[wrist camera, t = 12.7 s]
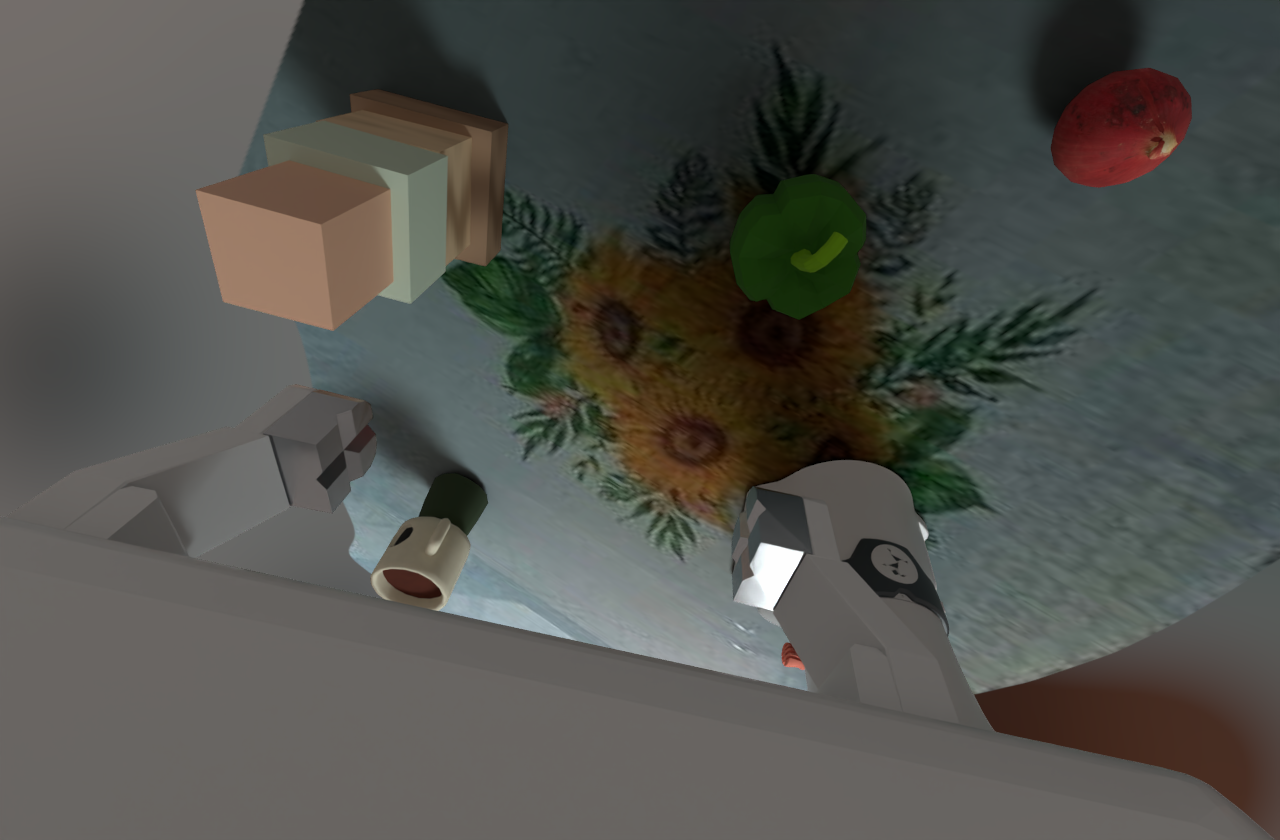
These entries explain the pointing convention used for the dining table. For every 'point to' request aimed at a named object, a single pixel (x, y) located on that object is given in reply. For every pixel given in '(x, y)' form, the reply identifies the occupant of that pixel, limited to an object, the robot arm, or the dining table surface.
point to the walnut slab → (484, 161)
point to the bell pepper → (799, 245)
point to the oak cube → (434, 141)
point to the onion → (1121, 127)
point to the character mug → (431, 545)
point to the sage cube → (389, 165)
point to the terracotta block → (299, 242)
